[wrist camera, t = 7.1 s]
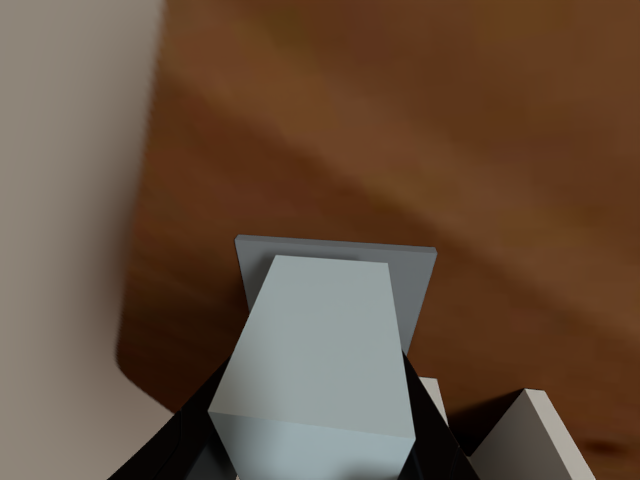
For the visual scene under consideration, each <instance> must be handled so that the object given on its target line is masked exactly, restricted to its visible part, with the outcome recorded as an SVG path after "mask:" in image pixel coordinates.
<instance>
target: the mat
mask: <svg viewBox="0 0 640 480" xmlns="http://www.w3.org/2000/svg"><path fill="white" fill-rule="evenodd" d="M235 244H236V249H237V254H238V259H239V263H240V268H241V273H242V278H243V283H244V288H245V292H246V297H247V302H248V307H249V312H250V313H251V311H252V308H253V306H254V304H255V302H256V299H257V297H258V295H259V292H260V290H261V288H262V285H263V283H264V281H265V279H266V276H267V274H268V272H269V269H270V267H271V265H272V262H273V260H274V258H275V256H276V255H282V256H296V257H310V258H324V259H338V260H352V261H366V262H380V263H388V268H389V274H390V281H391V287H392V293H393V300H394V306H395V312H396V318H397V325H398V331H399V337H400V344H401V348H402V350H403V351H404V353H405V355H406V356H407V352H408V349H409V346H410V342H411V339H412V336H413V332H414V329H415V326H416V322H417V319H418V316H419V313H420V309H421V306H422V303H423V299H424V296H425V293H426V289H427V286H428V283H429V279H430V276H431V273H432V269H433V266H434V263H435V259H436V256H437V252H436V249H435V247H420V246H405V245H389V244H374V243H359V242H343V241H328V240H313V239H297V238H282V237H266V236H251V235H238V236H237V237H236V239H235Z"/></svg>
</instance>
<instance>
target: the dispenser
mask: <svg viewBox="0 0 640 480" xmlns="http://www.w3.org/2000/svg"><path fill="white" fill-rule="evenodd" d="M419 378H420V380H421V382H422V383H423V385H424V387H425V388H426V390H427V392H428V393H429V395H430V397H431V398H432V400H433V402H434V403H435V405H436V407H437V408H438V410H439V412H440V414H441V415H442V417H443V419H444V420H445V422H446V424H447V425H448V422H447V418H446V414H445V410H444V406H443V403H442V399H441V395H440V391H439V387H438V383H437V379H432V378H423V377H419ZM448 427H449V426H448ZM466 457H467V456H466ZM467 459H468V460H469V462H470V464H471V465H472V467H473V468H474V470H475V472H476V473H477V475H478V476H479V478H480V480H596V479H595V477H594V476H593V474H592V472H591V471H590V469H589V467H588V465H587V464H586V462H585V460H584V458H583V457H582V455H581V453H580V452H579V450H578V448H577V446H576V445H575V443H574V441H573V440H572V438H571V436H570V434H569V433H568V431H567V429H566V428H565V426H564V424H563V422H562V421H561V419H560V417H559V416H558V414H557V412H556V410H555V409H554V407H553V405H552V403H551V402H550V400H549V398H548V397H547V395H546V393H545V391H541V390H532V389H524V390H523V391H522V393H521V394H520V395H519V396H518V398H517V399H516V400H515V401H514V403H513V404H512V405H511V406H510V408H509V409H508V410H507V412H506V413H505V414H504V415H503V417H502V418H501V419H500V420H499V422H498V423H497V424H496V425H495V427H494V428H493V429H492V430H491V432H490V433H489V434H488V435H487V437H486V438H485V439H484V440H483V442H482V443H481V444H480V445H479V447H478V448H477V449H476V450H475V452H474V453H473V454H472V455H471V457H467Z"/></svg>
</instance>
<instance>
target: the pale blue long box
mask: <svg viewBox="0 0 640 480" xmlns="http://www.w3.org/2000/svg"><path fill="white" fill-rule="evenodd" d="M208 413H209V415H210V417H211V419H212V422H213V424H214V426H215V428H216V430H217V432H218V434H219V436H220V439H221V441H222V443H223V445H224V447H225V449H226V451H227V453H228V456H229V458H230V460H231V462H232V464H233V466H234V468H235V470H236V473H237V475H238V477H239V479H240V480H397V478H398V476H399V474H400V472H401V470H402V468H403V465H404V463H405V461H406V459H407V457H408V455H409V452H410V450H411V448H412V446H413V444H414V442H415V439H416V438H415V432H414V426H413V419H412V413H411V407H410V400H409V394H408V388H407V381H406V375H405V369H404V363H403V356H402V350H401V344H400V337H399V331H398V325H397V318H396V312H395V306H394V300H393V293H392V287H391V281H390V274H389V268H388V263H380V262H366V261H352V260H338V259H324V258H310V257H296V256H282V255H276V256H275V258H274V260H273V262H272V265H271V267H270V269H269V272H268V274H267V276H266V279H265V281H264V283H263V285H262V288H261V290H260V292H259V295H258V297H257V299H256V302H255V304H254V306H253V308H252V311H251V313H250V315H249V318H248V320H247V322H246V325H245V327H244V329H243V331H242V334H241V336H240V338H239V341H238V343H237V345H236V347H235V350H234V352H233V354H232V357H231V359H230V361H229V364H228V366H227V368H226V370H225V373H224V375H223V377H222V380H221V382H220V384H219V387H218V389H217V391H216V393H215V396H214V398H213V400H212V403H211V405H210V407H209V410H208Z"/></svg>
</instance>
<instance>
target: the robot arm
mask: <svg viewBox="0 0 640 480" xmlns="http://www.w3.org/2000/svg"><path fill="white" fill-rule="evenodd" d="M401 350H402V348H401ZM232 354H233V353H232ZM232 354H231V355H230V356H229V357H228V359H227V360H226V361H225V362H224V363H223V364H222V365H221V366H220V367H219V368H218V369H217V370H216V371H215V372H214V373H213V374H212V376H211V377H210V378H209V379H208V380H207V381H206V382H205V383H204V384H203V385H202V386H201V387H200V388H199V389H198V390H197V391H196V393H195V394H194V395H193V396H192V397H191V398H190V399H189V400H188V401H187V402H186V403H185V404H184V405H183V406H182V407H181V411H180V410H179V411H177V413H176V414H175V415H174V416H173V417H172V418H171V419H170V420H169V421H168V422H167V423H166V424H165V425H164V426H163V427H162V428H161V429H160V430H159V431H158V433H157V434H155V435H154V436H153V438H151V439H150V440H149V441H148V442H147V443H146V444H145V445H144V446H143V447H142V448H141V449H140V450H139V451H138V452H137V453H136V454H134V456H132V457H131V458H130V459H129V460H128V461H127V462H126V463H125V464H124V465H123V466H121V467H120V468H119V469H118V470H117V471H116V472H115V473H114V474H113V475H112V476H111V477H110V478H108V479H107V480H236V477H237V473H236V470H235V468H234V466H233V464H232V462H231V460H230V458H229V456H228V453H227V451H226V449H225V447H224V445H223V443H222V441H221V439H220V436H219V434H218V432H217V430H216V428H215V426H214V424H213V422H212V419H211V417H210V415H209V413H208V410H209V407H210V405H211V403H212V400H213V398H214V396H215V393H216V391H217V389H218V387H219V384H220V382H221V380H222V377H223V375H224V373H225V370H226V368H227V366H228V364H229V361H230V359H231V357H232ZM402 356H403V363H404V369H405V375H406V381H407V388H408V394H409V400H410V407H411V413H412V419H413V426H414V432H415V438H416V439H415V442H414V444H413V446H412V448H411V450H410V452H409V455H408V457H407V459H406V461H405V463H404V465H403V468H402V470H401V472H400V474H399V476H398V478H397V480H480V478H479V476H478V475H477V473H476V472H475V470H474V468H473V467H472V465H471V464H470V462H469V460H468V459H467V457H466V455H465V454H464V452H463V450H462V449H461V448H459V444H458V442H457V440H456V439H455V437H454V435H453V434H452V432H451V430H450V429H449V427H448V425H447V424H446V422H445V420H444V419H443V417H442V415H441V414H440V412H439V410H438V408H437V407H436V405H435V403H434V402H433V400H432V398H431V397H430V395H429V393H428V392H427V390H426V388H425V387H424V385H423V383H422V382H421V380H420V378H419V377H418V375H417V373H416V372H415V370H414V368H413V367H412V365H411V363H410V362H409V360H408V358H407V357H406V355H405V353H404V351H403V350H402Z"/></svg>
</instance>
